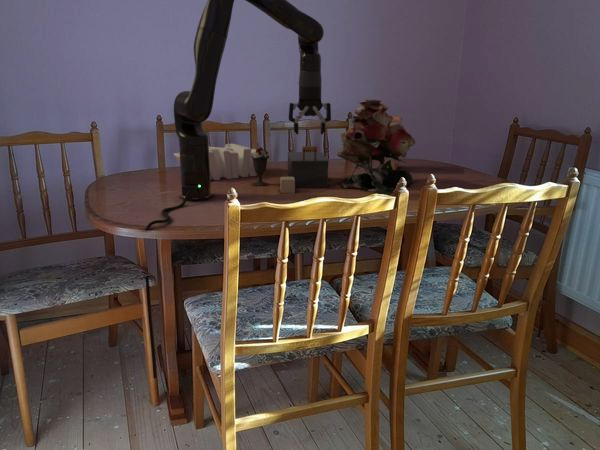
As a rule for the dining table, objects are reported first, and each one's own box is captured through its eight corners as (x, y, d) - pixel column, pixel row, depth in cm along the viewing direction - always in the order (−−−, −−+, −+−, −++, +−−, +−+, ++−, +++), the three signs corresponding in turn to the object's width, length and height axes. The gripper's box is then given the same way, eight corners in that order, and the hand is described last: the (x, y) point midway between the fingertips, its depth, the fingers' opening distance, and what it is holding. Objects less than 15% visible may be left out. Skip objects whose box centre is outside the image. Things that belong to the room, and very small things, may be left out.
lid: (328, 162, 184) (328, 147, 183) (291, 163, 183) (291, 147, 182) (321, 154, 201) (322, 139, 200) (287, 154, 200) (287, 139, 198)
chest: (327, 187, 188) (328, 162, 185) (291, 188, 187) (291, 162, 184) (321, 177, 204) (321, 154, 201) (287, 177, 203) (287, 154, 200)
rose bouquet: (418, 180, 200) (424, 98, 191) (389, 196, 176) (394, 103, 167) (355, 173, 213) (358, 95, 204) (320, 187, 189) (322, 99, 180)
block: (294, 192, 180) (294, 179, 179) (281, 193, 180) (281, 179, 178) (293, 189, 185) (293, 176, 183) (280, 189, 184) (280, 176, 183)
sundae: (252, 186, 188) (252, 144, 183) (249, 182, 194) (248, 141, 190) (271, 186, 190) (271, 143, 185) (267, 181, 196) (267, 140, 191)
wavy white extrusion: (185, 183, 192) (184, 154, 188) (172, 174, 205) (171, 147, 202) (273, 174, 208) (273, 147, 205) (255, 167, 222) (255, 141, 219)
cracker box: (396, 173, 213) (399, 119, 207) (380, 172, 215) (383, 119, 209) (399, 166, 226) (402, 116, 220) (384, 165, 228) (387, 115, 222)
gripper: (289, 85, 174) (289, 135, 179) (333, 85, 175) (331, 135, 180) (287, 84, 181) (287, 132, 186) (329, 84, 182) (328, 132, 187)
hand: (309, 134), depth 183 cm, fingers open, 8 cm apart
